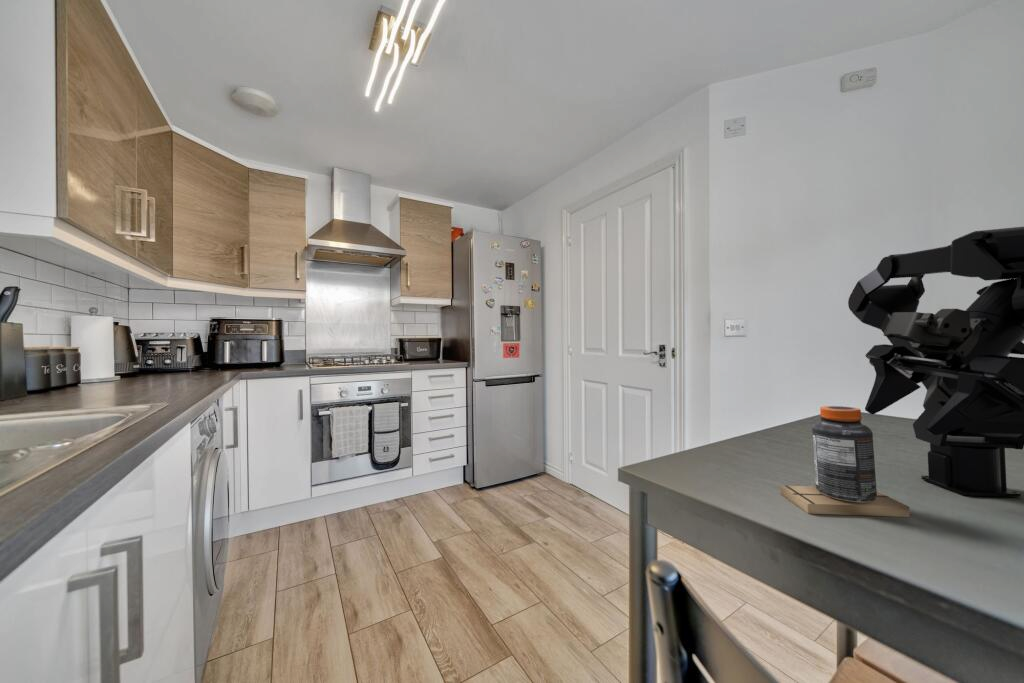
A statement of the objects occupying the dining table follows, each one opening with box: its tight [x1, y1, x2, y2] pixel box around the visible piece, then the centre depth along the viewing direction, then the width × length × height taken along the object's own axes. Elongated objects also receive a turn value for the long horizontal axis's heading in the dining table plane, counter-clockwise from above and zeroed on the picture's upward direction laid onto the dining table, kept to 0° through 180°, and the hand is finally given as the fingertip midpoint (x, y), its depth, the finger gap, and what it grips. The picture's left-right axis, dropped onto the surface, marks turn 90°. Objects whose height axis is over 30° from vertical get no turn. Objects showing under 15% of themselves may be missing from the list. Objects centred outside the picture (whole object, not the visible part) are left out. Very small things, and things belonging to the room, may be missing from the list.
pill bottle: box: [811, 405, 878, 503], centre depth 49 cm, size 6×6×11 cm
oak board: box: [779, 485, 911, 518], centre depth 48 cm, size 11×6×1 cm, turn 81°
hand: (896, 421), depth 48 cm, fingers open, 9 cm apart
